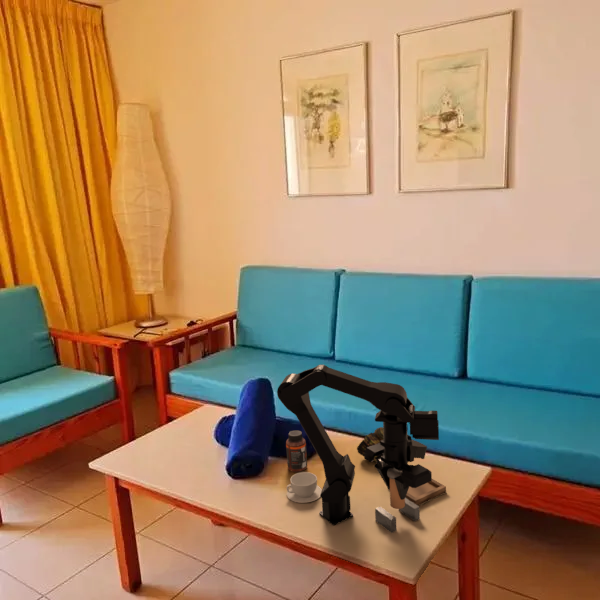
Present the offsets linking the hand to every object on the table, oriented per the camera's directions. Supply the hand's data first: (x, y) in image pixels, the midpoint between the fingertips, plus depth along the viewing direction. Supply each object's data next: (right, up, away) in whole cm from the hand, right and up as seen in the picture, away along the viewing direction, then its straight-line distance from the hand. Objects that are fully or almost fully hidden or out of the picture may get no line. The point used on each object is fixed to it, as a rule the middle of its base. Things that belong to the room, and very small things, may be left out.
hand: (397, 495), depth 138 cm
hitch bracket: (0, -7, +1) cm, 7 cm away
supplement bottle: (-25, -2, +30) cm, 39 cm away
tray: (+8, -4, +14) cm, 16 cm away
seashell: (0, 0, +33) cm, 33 cm away
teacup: (-23, -6, +16) cm, 29 cm away
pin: (0, -3, +1) cm, 3 cm away
